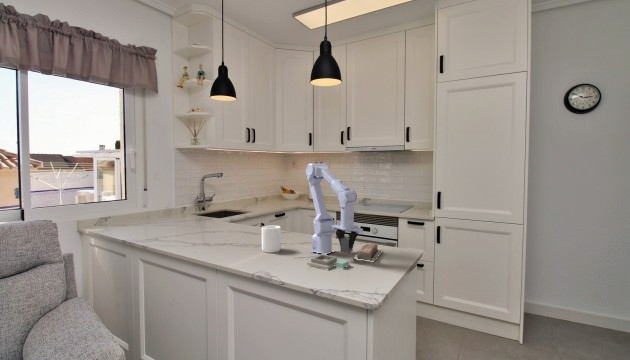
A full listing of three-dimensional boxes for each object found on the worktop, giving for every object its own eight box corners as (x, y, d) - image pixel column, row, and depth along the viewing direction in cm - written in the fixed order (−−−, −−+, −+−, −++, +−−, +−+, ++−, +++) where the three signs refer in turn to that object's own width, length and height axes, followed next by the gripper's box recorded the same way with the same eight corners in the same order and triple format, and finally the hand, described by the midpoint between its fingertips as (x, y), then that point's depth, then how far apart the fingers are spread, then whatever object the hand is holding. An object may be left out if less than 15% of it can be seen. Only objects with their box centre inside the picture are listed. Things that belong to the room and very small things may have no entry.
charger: (340, 251, 135) (340, 238, 135) (344, 249, 139) (344, 236, 138) (348, 253, 133) (348, 239, 133) (352, 250, 136) (352, 237, 136)
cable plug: (335, 267, 128) (335, 262, 127) (343, 264, 132) (343, 258, 132) (342, 269, 125) (342, 263, 125) (350, 266, 130) (350, 260, 130)
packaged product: (374, 253, 133) (352, 250, 137) (374, 263, 134) (352, 260, 138) (382, 243, 150) (362, 241, 154) (382, 253, 150) (362, 250, 154)
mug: (270, 254, 145) (270, 230, 144) (254, 249, 153) (254, 226, 152) (284, 250, 152) (284, 227, 152) (268, 245, 160) (268, 223, 159)
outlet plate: (307, 265, 130) (307, 259, 129) (322, 258, 140) (322, 252, 139) (327, 270, 124) (327, 263, 124) (341, 262, 134) (341, 256, 134)
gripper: (328, 216, 136) (328, 246, 136) (358, 220, 128) (357, 252, 128) (336, 214, 141) (335, 243, 142) (365, 217, 134) (364, 248, 134)
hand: (346, 247), depth 136 cm, fingers closed on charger, 4 cm apart
